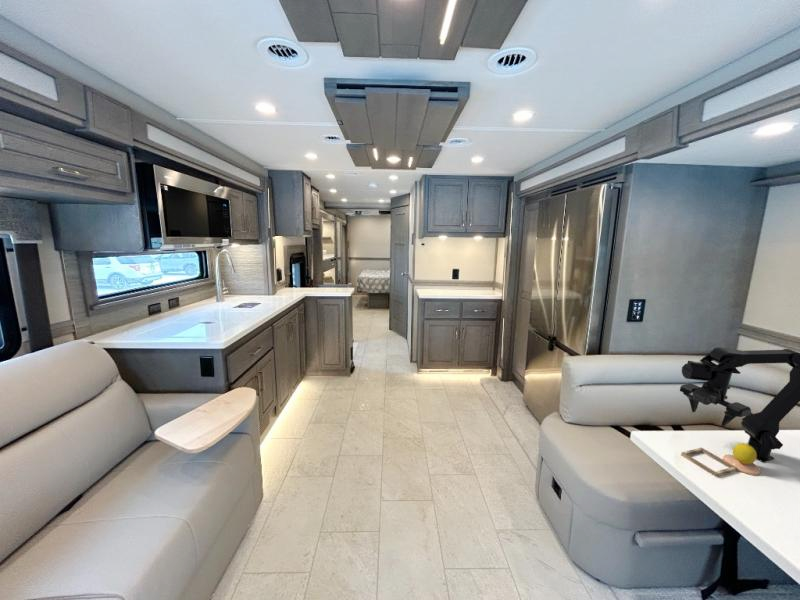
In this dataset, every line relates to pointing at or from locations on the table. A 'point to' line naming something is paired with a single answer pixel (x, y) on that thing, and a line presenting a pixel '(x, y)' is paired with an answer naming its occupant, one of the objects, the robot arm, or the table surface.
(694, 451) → the wooden picture frame
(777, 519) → the table surface
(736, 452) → the lemon
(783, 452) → the table surface
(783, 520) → the table surface
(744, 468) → the saucer
